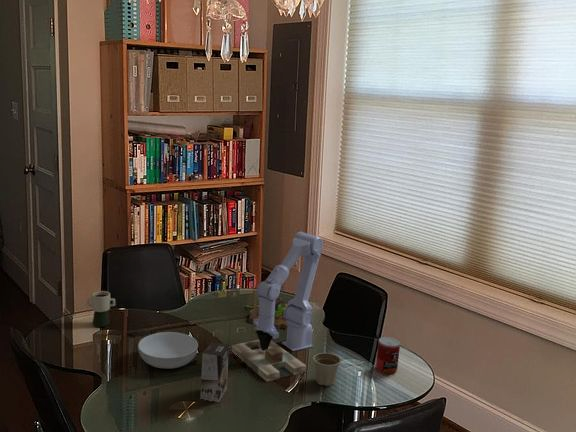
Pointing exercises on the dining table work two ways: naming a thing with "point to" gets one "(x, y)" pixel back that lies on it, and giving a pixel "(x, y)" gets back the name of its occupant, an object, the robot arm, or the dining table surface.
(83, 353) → the dining table surface
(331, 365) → the flower pot
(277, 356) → the walnut block
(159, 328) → the dining table surface
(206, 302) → the dining table surface
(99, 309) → the character mug
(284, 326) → the plant
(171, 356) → the serving bowl
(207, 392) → the coffee box
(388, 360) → the canned food
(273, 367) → the cream slotted board
